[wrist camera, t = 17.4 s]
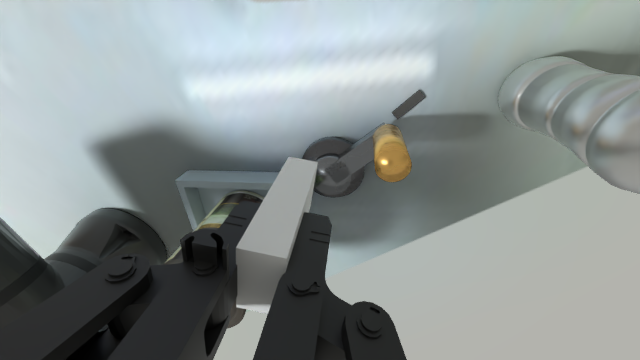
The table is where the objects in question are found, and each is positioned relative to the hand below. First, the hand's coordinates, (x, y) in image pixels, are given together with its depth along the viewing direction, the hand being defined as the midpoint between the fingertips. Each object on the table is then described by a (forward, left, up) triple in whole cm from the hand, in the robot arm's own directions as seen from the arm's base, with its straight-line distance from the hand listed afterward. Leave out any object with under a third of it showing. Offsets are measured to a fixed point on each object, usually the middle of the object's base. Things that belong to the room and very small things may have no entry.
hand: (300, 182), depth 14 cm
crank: (+2, -6, -17) cm, 19 cm away
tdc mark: (+8, -1, -19) cm, 21 cm away
